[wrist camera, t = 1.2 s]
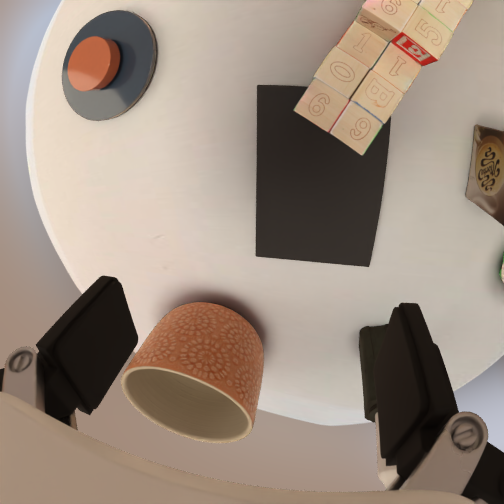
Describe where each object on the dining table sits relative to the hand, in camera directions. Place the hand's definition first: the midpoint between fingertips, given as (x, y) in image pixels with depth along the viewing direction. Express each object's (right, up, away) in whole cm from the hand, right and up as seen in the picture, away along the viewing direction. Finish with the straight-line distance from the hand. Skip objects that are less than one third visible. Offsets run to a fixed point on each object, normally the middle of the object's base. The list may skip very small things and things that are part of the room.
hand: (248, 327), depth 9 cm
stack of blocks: (+12, +23, +13) cm, 29 cm away
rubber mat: (+8, +10, +21) cm, 25 cm away
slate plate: (-18, +26, +18) cm, 36 cm away
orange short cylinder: (-18, +25, +17) cm, 36 cm away
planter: (-5, -10, +35) cm, 37 cm away
